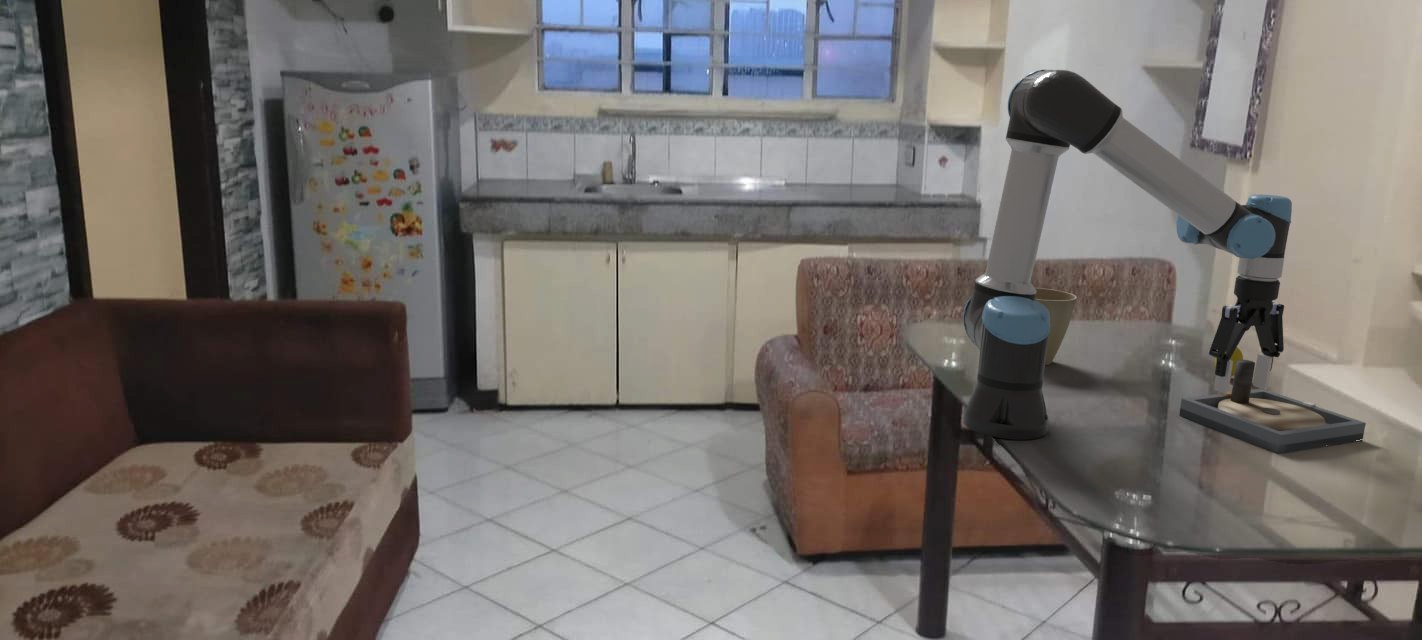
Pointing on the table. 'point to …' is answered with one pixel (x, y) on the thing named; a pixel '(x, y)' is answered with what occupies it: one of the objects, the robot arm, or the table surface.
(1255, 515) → the table surface
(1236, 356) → the lemon
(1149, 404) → the table surface
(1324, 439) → the dial frame
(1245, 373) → the dial
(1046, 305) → the plant pot
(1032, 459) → the table surface
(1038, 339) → the robot arm
